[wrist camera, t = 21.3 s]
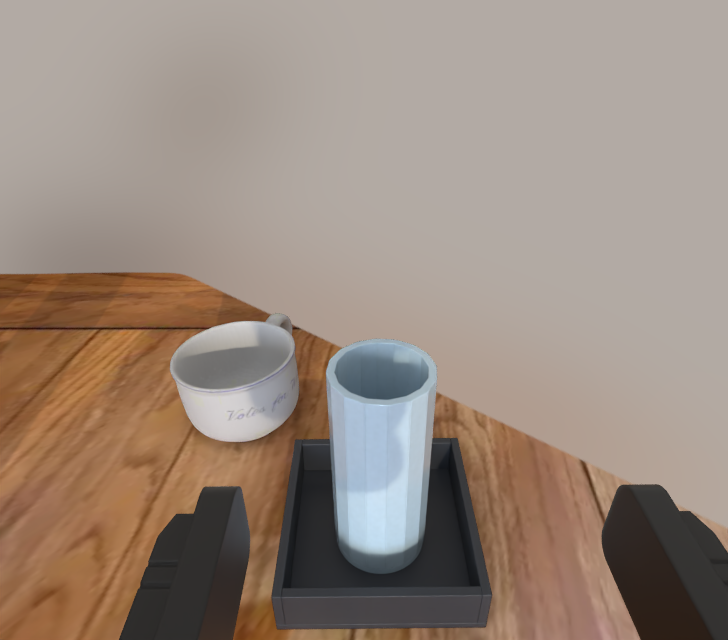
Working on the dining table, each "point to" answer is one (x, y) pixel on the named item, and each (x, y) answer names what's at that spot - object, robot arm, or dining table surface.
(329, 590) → the tray
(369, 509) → the tumbler
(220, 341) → the teacup
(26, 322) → the dining table surface
